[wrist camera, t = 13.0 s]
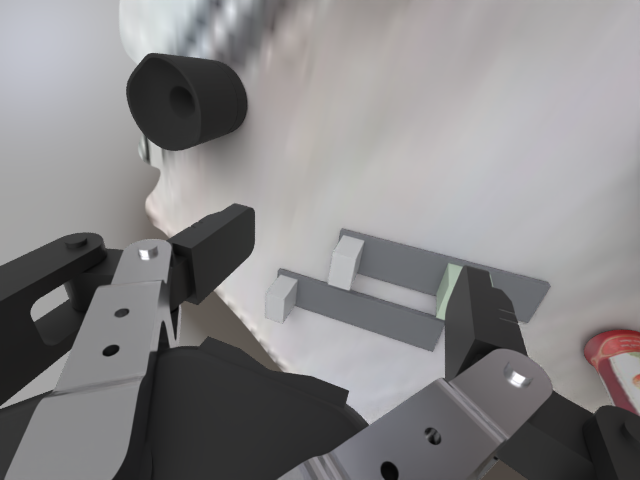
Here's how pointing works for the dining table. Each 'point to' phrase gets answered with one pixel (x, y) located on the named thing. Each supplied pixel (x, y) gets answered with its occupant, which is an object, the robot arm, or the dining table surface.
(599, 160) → the dining table surface
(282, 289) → the strip
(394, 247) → the strip
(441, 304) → the block
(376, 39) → the dining table surface
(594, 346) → the liquor
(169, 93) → the pen holder
